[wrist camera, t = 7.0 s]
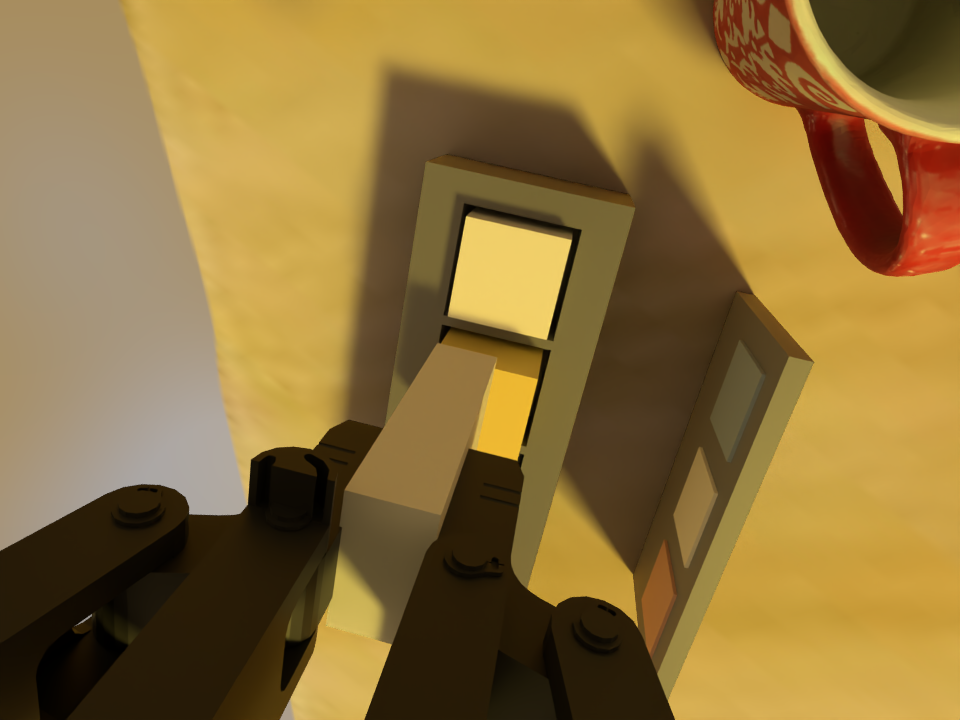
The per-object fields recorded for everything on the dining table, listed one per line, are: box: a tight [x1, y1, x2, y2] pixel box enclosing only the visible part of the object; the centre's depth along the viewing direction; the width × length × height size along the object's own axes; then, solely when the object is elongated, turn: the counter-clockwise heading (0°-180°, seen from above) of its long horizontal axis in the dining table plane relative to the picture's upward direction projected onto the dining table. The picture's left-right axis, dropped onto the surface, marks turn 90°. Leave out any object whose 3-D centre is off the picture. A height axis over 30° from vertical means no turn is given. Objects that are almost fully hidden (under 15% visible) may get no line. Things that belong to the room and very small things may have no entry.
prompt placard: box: [633, 291, 814, 700], centre depth 28 cm, size 16×1×8 cm, turn 169°
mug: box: [713, 0, 960, 277], centre depth 18 cm, size 13×9×14 cm
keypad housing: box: [385, 154, 636, 588], centre depth 30 cm, size 22×8×4 cm, turn 169°
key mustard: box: [441, 327, 543, 460], centre depth 27 cm, size 4×4×4 cm
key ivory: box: [448, 206, 573, 340], centre depth 26 cm, size 4×4×4 cm
